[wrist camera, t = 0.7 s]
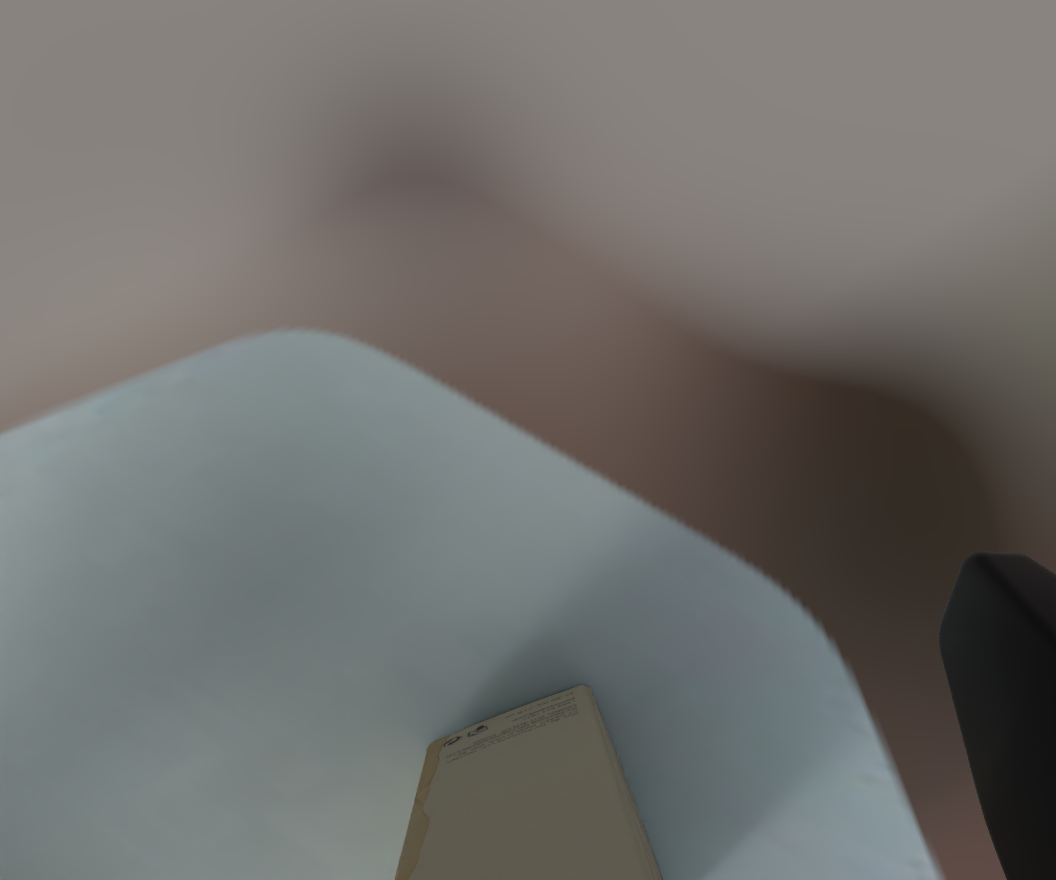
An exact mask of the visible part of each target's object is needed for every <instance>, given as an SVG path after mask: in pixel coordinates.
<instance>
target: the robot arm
mask: <svg viewBox="0 0 1056 880" xmlns="http://www.w3.org/2000/svg"><path fill="white" fill-rule="evenodd" d="M939 647H940V653H941V657H942V661H943V665H944V669H945V672H946V676H947V680H948V684H949V688H950V691H951V695H952V699H953V703H954V707H955V711H956V714H957V718H958V722H959V726H960V730H961V733H962V737H963V742H964V745H965V749H966V753H967V756H968V761H969V764H970V768H971V772H972V776H973V780H974V784H975V787H976V791H977V794H978V798H979V801H980V805H981V809H982V812H983V815H984V819H985V822H986V825H987V827H988V830H989V833H990V836H991V839H992V842H993V844H994V847H995V850H996V853H997V855H998V858H999V860H1000V863H1001V866H1002V868H1003V871H1004V873H1005V876H1006V879H1007V880H1056V575H1055V574H1054V573H1052V572H1051V571H1049V570H1048V569H1046V568H1044V567H1043V566H1041V565H1040V564H1038V563H1037V562H1035V561H1034V560H1032V559H1030V558H1029V557H1027V556H1025V555H1023V554H1020V553H1011V552H975V553H973V554H970V555H969V556H968V557H967V558H966V559H965V560H964V562H963V564H962V566H961V568H960V571H959V573H958V576H957V579H956V581H955V584H954V587H953V590H952V592H951V595H950V598H949V601H948V604H947V607H946V609H945V612H944V615H943V617H942V620H941V624H940V629H939Z"/></svg>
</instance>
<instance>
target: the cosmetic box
mask: <svg viewBox="0 0 1056 880" xmlns="http://www.w3.org/2000/svg"><path fill="white" fill-rule="evenodd" d="M395 880H663V879H662V876H661V873H660V870H659V867H658V865H657V862H656V859H655V856H654V853H653V850H652V847H651V845H650V842H649V839H648V836H647V834H646V831H645V828H644V825H643V823H642V820H641V817H640V815H639V812H638V809H637V807H636V804H635V801H634V798H633V796H632V793H631V790H630V788H629V785H628V782H627V780H626V777H625V774H624V772H623V769H622V767H621V764H620V761H619V759H618V756H617V753H616V751H615V748H614V746H613V743H612V741H611V738H610V736H609V733H608V731H607V728H606V726H605V723H604V721H603V718H602V716H601V713H600V711H599V708H598V706H597V703H596V701H595V698H594V696H593V694H592V691H591V689H590V688H589V686H587V685H579V686H576V687H574V688H571V689H568V690H566V691H563V692H560V693H557V694H554V695H551V696H549V697H546V698H543V699H540V700H538V701H535V702H532V703H529V704H527V705H524V706H522V707H519V708H516V709H513V710H511V711H508V712H506V713H503V714H500V715H498V716H495V717H493V718H490V719H488V720H485V721H483V722H480V723H478V724H475V725H473V726H470V727H468V728H465V729H463V730H461V731H458V732H456V733H454V734H451V735H449V736H446V737H444V738H442V739H439V740H437V741H435V742H433V743H431V744H430V745H429V746H428V748H427V753H426V757H425V761H424V764H423V768H422V772H421V777H420V781H419V784H418V788H417V792H416V797H415V800H414V805H413V809H412V813H411V817H410V821H409V825H408V829H407V832H406V836H405V840H404V844H403V848H402V852H401V856H400V860H399V864H398V868H397V871H396V876H395Z"/></svg>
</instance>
